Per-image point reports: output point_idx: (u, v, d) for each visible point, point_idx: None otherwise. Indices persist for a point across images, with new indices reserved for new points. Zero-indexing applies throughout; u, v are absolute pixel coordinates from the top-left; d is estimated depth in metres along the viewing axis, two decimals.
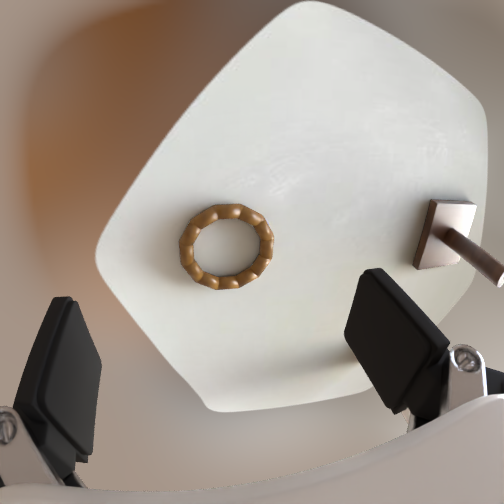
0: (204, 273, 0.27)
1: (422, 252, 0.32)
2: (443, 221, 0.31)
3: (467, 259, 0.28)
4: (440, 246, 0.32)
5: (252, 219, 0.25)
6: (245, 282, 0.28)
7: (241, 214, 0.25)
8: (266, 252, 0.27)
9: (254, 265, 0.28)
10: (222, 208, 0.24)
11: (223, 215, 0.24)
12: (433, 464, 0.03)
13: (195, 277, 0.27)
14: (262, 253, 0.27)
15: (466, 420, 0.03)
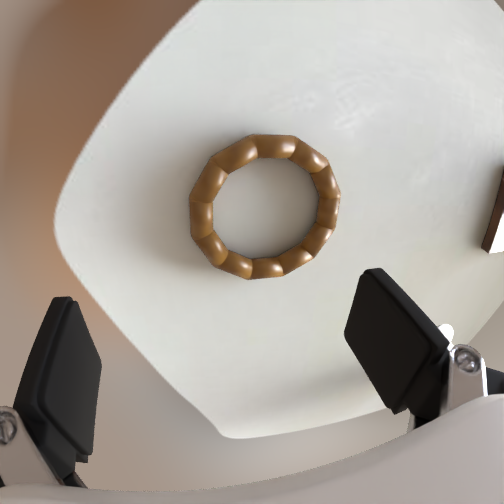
0: (229, 252, 0.17)
1: (495, 230, 0.22)
2: None
3: None
4: None
5: (313, 160, 0.15)
6: (293, 266, 0.18)
7: (296, 151, 0.14)
8: (329, 218, 0.17)
9: (308, 239, 0.17)
10: (265, 138, 0.14)
11: (267, 150, 0.14)
12: (433, 464, 0.03)
13: (215, 258, 0.16)
14: (322, 220, 0.17)
15: (467, 419, 0.03)
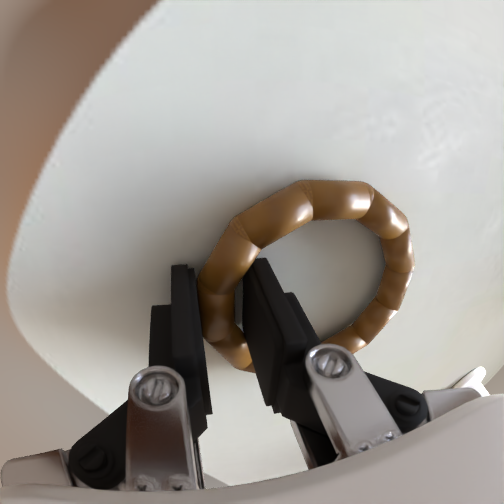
0: None
1: None
2: None
3: None
4: None
5: (391, 223, 0.09)
6: None
7: (371, 210, 0.09)
8: (397, 297, 0.11)
9: (365, 323, 0.12)
10: (326, 189, 0.08)
11: (329, 210, 0.08)
12: (433, 464, 0.03)
13: (237, 362, 0.11)
14: (387, 299, 0.11)
15: (467, 419, 0.03)
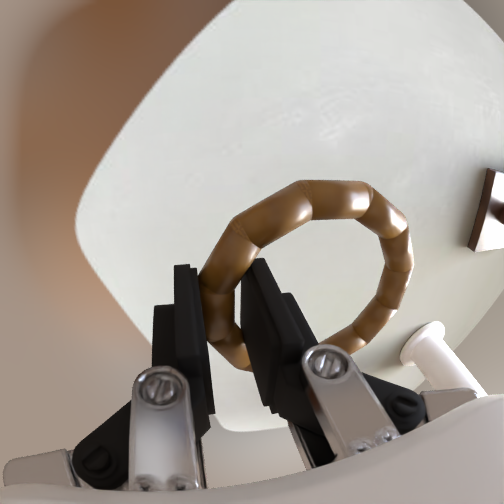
0: None
1: (480, 230, 0.24)
2: (500, 194, 0.22)
3: None
4: (496, 224, 0.24)
5: (390, 222, 0.09)
6: None
7: (370, 209, 0.09)
8: (396, 296, 0.11)
9: (364, 323, 0.12)
10: (325, 189, 0.08)
11: (328, 209, 0.08)
12: (433, 464, 0.03)
13: (237, 361, 0.11)
14: (387, 298, 0.11)
15: (467, 420, 0.03)
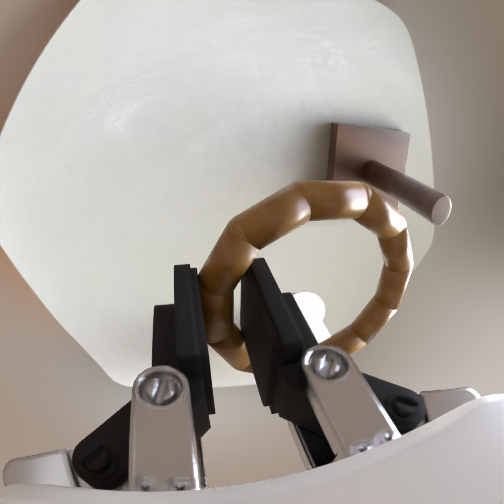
0: None
1: None
2: (355, 149, 0.26)
3: (390, 193, 0.24)
4: None
5: (389, 222, 0.09)
6: None
7: (368, 209, 0.09)
8: (395, 296, 0.11)
9: (364, 323, 0.12)
10: (324, 190, 0.08)
11: (326, 210, 0.08)
12: (433, 464, 0.03)
13: (237, 362, 0.11)
14: (386, 298, 0.11)
15: (467, 420, 0.03)
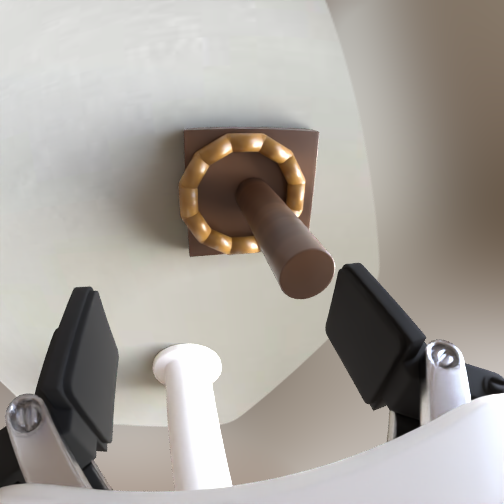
0: (212, 230, 0.20)
1: None
2: (218, 164, 0.19)
3: None
4: (232, 213, 0.21)
5: (278, 153, 0.18)
6: None
7: (264, 145, 0.18)
8: (296, 201, 0.20)
9: None
10: (238, 136, 0.17)
11: (240, 145, 0.17)
12: (433, 464, 0.03)
13: (200, 235, 0.20)
14: (290, 203, 0.20)
15: (467, 419, 0.03)
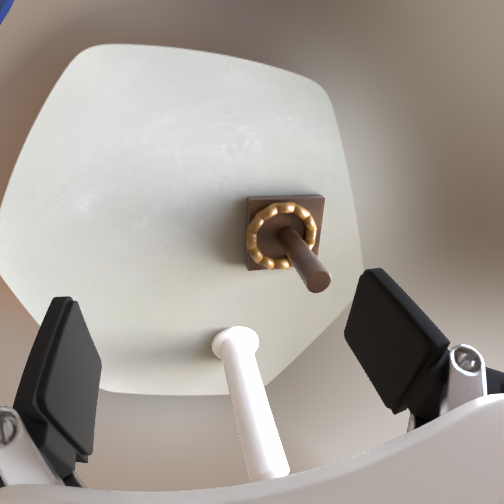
0: (263, 256, 0.35)
1: (248, 252, 0.36)
2: (268, 219, 0.34)
3: None
4: (274, 246, 0.36)
5: (302, 213, 0.33)
6: None
7: (294, 210, 0.33)
8: (311, 239, 0.35)
9: None
10: (281, 205, 0.32)
11: (281, 210, 0.32)
12: (433, 464, 0.03)
13: (257, 259, 0.35)
14: (307, 240, 0.35)
15: (467, 419, 0.03)
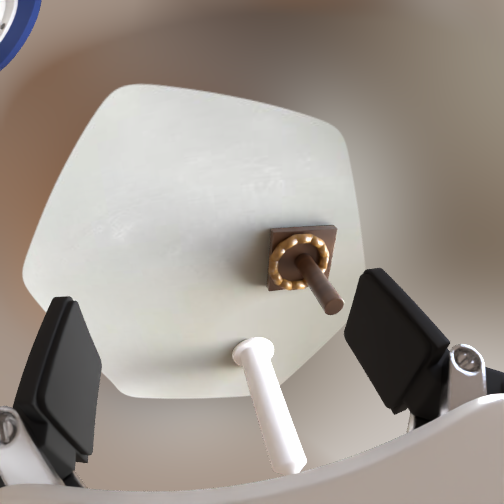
0: (283, 279, 0.40)
1: (269, 275, 0.40)
2: None
3: None
4: (292, 270, 0.41)
5: (318, 243, 0.38)
6: None
7: (311, 241, 0.38)
8: (324, 264, 0.40)
9: None
10: (300, 237, 0.37)
11: (300, 241, 0.37)
12: (433, 464, 0.03)
13: (277, 282, 0.40)
14: (321, 265, 0.40)
15: (467, 419, 0.03)
